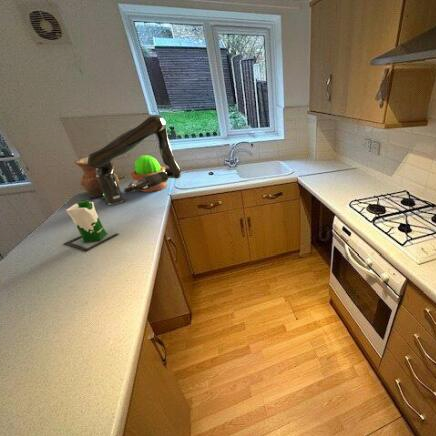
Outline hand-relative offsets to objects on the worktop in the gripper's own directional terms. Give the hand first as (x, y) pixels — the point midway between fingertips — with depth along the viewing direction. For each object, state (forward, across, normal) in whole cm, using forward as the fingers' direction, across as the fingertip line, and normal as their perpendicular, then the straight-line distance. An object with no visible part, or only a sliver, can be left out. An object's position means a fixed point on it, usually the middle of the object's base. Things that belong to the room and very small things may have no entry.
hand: (124, 191), depth 133 cm
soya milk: (+23, +3, +16) cm, 29 cm away
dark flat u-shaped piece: (+24, +2, +16) cm, 29 cm away
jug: (-19, -57, +17) cm, 62 cm away
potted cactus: (-38, -29, +16) cm, 51 cm away
